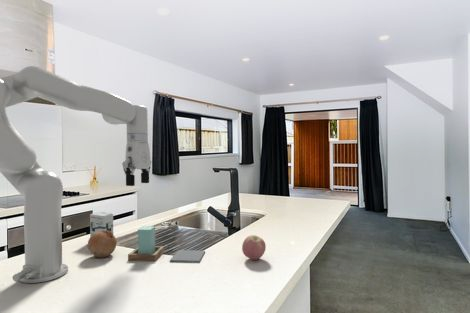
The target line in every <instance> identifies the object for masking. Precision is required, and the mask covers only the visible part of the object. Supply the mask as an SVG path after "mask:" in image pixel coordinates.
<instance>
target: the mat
mask: <svg viewBox="0 0 470 313" xmlns="http://www.w3.org/2000/svg"><path fill="white" fill-rule="evenodd" d="M205 253H206V250H188V249H177V251H176V252H175V253H174V255H173V256H172V257H171V258H170V259H169V261H170V263H200V262H201V260H202V258H203V257H204V255H205Z"/></svg>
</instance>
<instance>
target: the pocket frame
mask: <svg viewBox="0 0 470 313" xmlns="http://www.w3.org/2000/svg"><path fill="white" fill-rule="evenodd" d="M163 253H165V246H164V245H162V246H161V245H160V246H158V245H155V253H154V254H138V246H137V247H136V248H134V249H133V250H132V251H131V252H130V253H128V254H127V261H129V262H130V261H132V262H133V261H135V262H136V261H137V262H138V261H139V262H156V261H157V260H158V259H159V258H160V257H161V256H162V255H163Z"/></svg>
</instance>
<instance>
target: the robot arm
mask: <svg viewBox="0 0 470 313" xmlns="http://www.w3.org/2000/svg"><path fill="white" fill-rule="evenodd" d="M36 98H39V99H42V100H45V101H47V102H51V103H53V104H55V105H59V106H60V107H61V106H62V107H63V108H67V109H70V110H73V111H80V112H81V111H82V112H92V113H97V114H101V116H102V119H103V120H104V121H105V122H106V123H108V124H110V125H116V126H117V125H126V146H125V160H124V161H123V162H122V163H121V165H122V167H123V172H124V175H125V185H126V186H127V187H135V184H136V182H135V181H136V179H135V178H136V177H135V174H134V173H135V171H136V170H141V173H140V179H141V180H140V183H141V184H149V183H150V173H151V172H150V169H151V165H152V160H151V152H150V145H149V137H148V136H149V135H148V134H149V131H148V130H149V129H148V126H149V124H148V120H149V118H148V108H147V107H146V106H144V105H139V104H133V103H132V102H130V101H129V100H126V99H125V98H122V97H120V96H118V95H115V94H113V93H110V92H107V91H104V90H100V89H97V88H94V87H90V86H86V85H83V84H80V83H77V82H75V81H73V80H71V79H69V78H66V77H63V76H60V75H58V74H56V73H54V72H52V71H50V70H47V69H45V68H43V67H38V66H35V65H31V66H30V65H29V66H26V67H24V68H22V69H21V70H19V72H16V73H14V74H11V75H8V76H7V75H6V76H3V77H0V173H1V174H2V176H3V177H4V178H5V179H6V180H7V181H8V182H9V183H10V184H11V186H12V187H14V189H15V190H16V191H17V192H18V193H19V194H20V195H22V196H23V197H24V207H23V209H24V210H23V227H24V228H23V229H24V230H23V232H24V265H22V269H21V270H20V271H18V272H17V273H14V274H13V275H12V280H13V281H14V282H18V281H20V282H21V283H25V284H37V283H43V282H48V281H52V280H55V279H58V278H60V277H62V276H64V275H65V274H67V273H68V271H69V266H68V265H67V264H65V263H63V236H62V235H63V234H62V229H63V228H62V203H63V197H64V196H63V193H64V192H63V191H64V188H63V183H62V180H61V178H60V177H59V176H58V175H57V174H56V173H54V172H52V171H50V170H45V169H43V168H42V166H41V164H39V162H38V160H37V154H36V151H35V150H34V149H33V147H32V146H31V145H30V144H29V143H28V142H27V141H26V140H25V139H24V137H23V136H22V135H21V134H20V133H19V131H18V130H17V129H16V127H15V126H14V125H13V124H12V123H11V121H10V120H9V118H8V116H7V113H6V108H8V107H12V106H15V105H18V104H21V103H25V102H27V101H30V100H33V99H36Z"/></svg>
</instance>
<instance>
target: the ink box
mask: <svg viewBox="0 0 470 313" xmlns="http://www.w3.org/2000/svg"><path fill="white" fill-rule="evenodd" d="M89 220H90V221H89V225H90V226H89V227H90V228H89V230H90V232H89V234H90V237H91V236H92V235H93V234H94V233H97V232H101V231H107V230H108V231H111V233H112V234H113V235H114V214H113V213H111V212H106V211H97V212H93V213H90V214H89ZM90 237H89V238H90Z"/></svg>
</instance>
